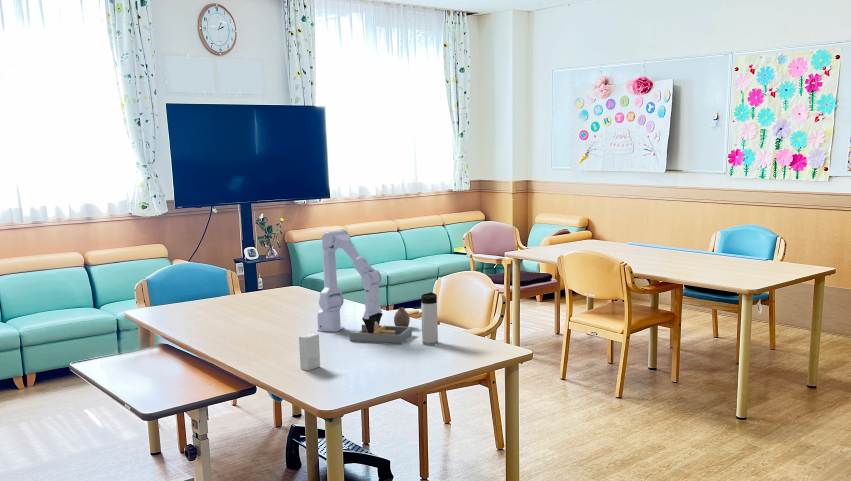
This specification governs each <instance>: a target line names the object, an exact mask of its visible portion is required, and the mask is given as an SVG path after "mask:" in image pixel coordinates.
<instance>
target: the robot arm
mask: <svg viewBox="0 0 851 481" xmlns="http://www.w3.org/2000/svg"><path fill="white" fill-rule="evenodd" d="M321 241H322V246H321V254H322V268H323V283H324V284H323V285H324V286H323V289H322V290H321V292H320V293H319V300H318V304H319V305H318V306H319V307H320V308H319V310H318V311H317V330H316V331H318V332H334V333H338V332H340V331H341V330H343V329H344V328H345V326H343V325H342V324H341V323H342V322H341V309H342V306H343V305H344V302H345V301H344V296H343V292H342V289H340V288H339V287H338V279H337V278H338V277H337V262H336V251H337V250H338V249H342V250H343V251H344V252H345V253H346V255H347V256H348V257H349V258H350V259H351V260H352V266H353V268H354V269H355V270H356V271H357V273H358V274H359V276H360V277H361V278H360V280H361V284H362V285H363V286H362V287H363V289H364V302H365V303H364V305H365V306H364V308H365V309H364V314H363V316H362V317H361V319H362V322H364V325H366V328H367V332H368V333H374V324H375V321H377V323H378V324H379V325H380V322H381V319H382V317H383V310H382V309H381V308H382V307H381V306H380V295H379V294H380V292H379V289H380V288H379V284H380V283H381V282H382V275H381V273H380V271H379V270H377V269H374V267H372V265H371V264H370V263H369V262H368V259H367V258H366V257H365V256H361V255H360V254H359V252H358V251H357V249H356V247H355V246H354V244H353V243H352V242H351V236H350V234H348V232H347V230H345V229H338V230H330V231H329V230H328V231H325V232H324V233H323V235H322V236H321ZM341 325H342V326H341Z"/></svg>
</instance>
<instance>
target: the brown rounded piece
mask: <svg viewBox="0 0 851 481" xmlns="http://www.w3.org/2000/svg"><path fill="white" fill-rule="evenodd" d="M410 317H411V316H410V314H409V313H408V311H407V310H406V309H405V307H398V309H397V311H396V312H395V314H394V317H393V324H394V326H401V327H409V325H410V322H411V318H410Z"/></svg>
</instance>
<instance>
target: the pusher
mask: <svg viewBox="0 0 851 481" xmlns="http://www.w3.org/2000/svg"><path fill="white" fill-rule="evenodd" d="M385 326H386V324H385V325H382V326H381V327H380V328H378V329H377V330H376V331H374V334H395V331H394V330H385Z"/></svg>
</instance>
